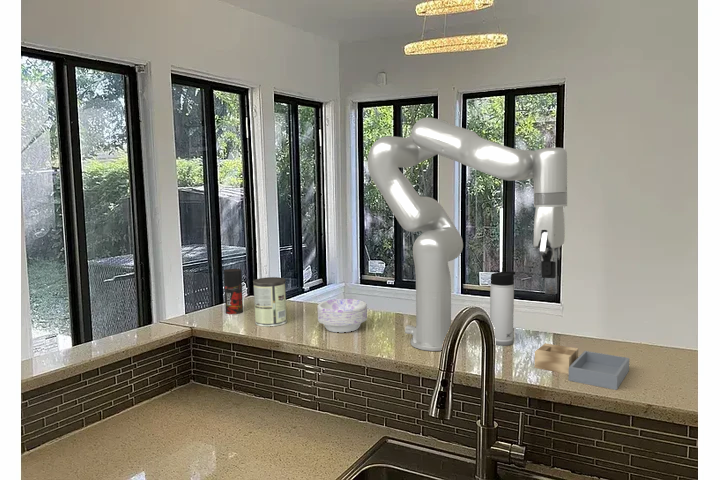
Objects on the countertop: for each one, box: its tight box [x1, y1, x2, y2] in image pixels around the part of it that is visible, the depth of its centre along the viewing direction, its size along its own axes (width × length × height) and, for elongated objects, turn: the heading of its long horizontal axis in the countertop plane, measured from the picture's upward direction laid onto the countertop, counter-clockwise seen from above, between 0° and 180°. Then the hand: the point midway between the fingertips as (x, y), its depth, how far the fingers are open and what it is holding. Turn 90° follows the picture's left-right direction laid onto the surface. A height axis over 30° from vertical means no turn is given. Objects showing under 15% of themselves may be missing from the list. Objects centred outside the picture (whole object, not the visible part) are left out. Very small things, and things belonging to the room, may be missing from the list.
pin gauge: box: [544, 246, 558, 295], centre depth 131 cm, size 3×3×12 cm
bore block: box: [534, 342, 579, 375], centre depth 131 cm, size 8×8×4 cm
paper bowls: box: [316, 298, 368, 334], centre depth 167 cm, size 15×15×8 cm
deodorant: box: [223, 268, 244, 315], centre depth 190 cm, size 6×6×15 cm
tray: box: [568, 350, 630, 391], centre depth 125 cm, size 10×14×3 cm
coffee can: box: [252, 276, 288, 328], centre depth 175 cm, size 10×10×14 cm
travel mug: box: [489, 270, 516, 347], centre depth 150 cm, size 6×7×20 cm
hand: (550, 276), depth 131 cm, fingers closed on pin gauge, 2 cm apart
